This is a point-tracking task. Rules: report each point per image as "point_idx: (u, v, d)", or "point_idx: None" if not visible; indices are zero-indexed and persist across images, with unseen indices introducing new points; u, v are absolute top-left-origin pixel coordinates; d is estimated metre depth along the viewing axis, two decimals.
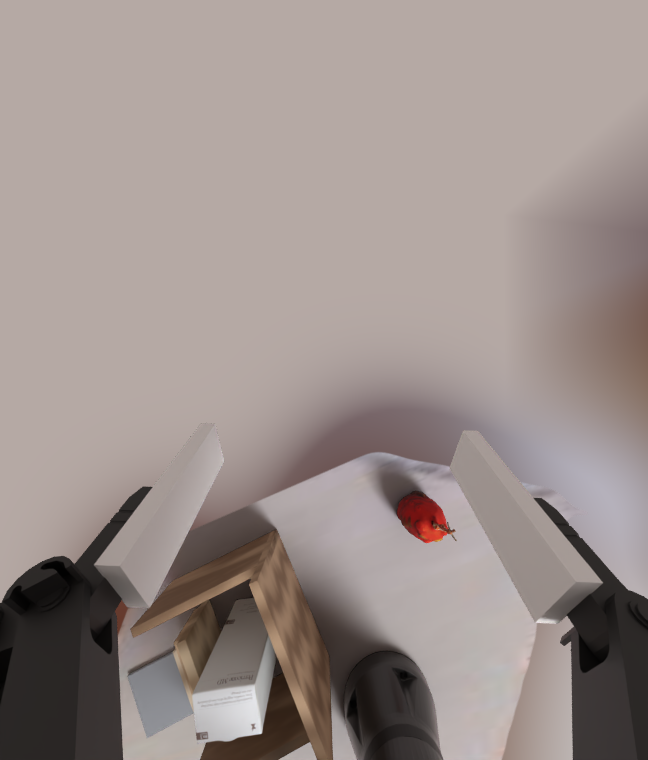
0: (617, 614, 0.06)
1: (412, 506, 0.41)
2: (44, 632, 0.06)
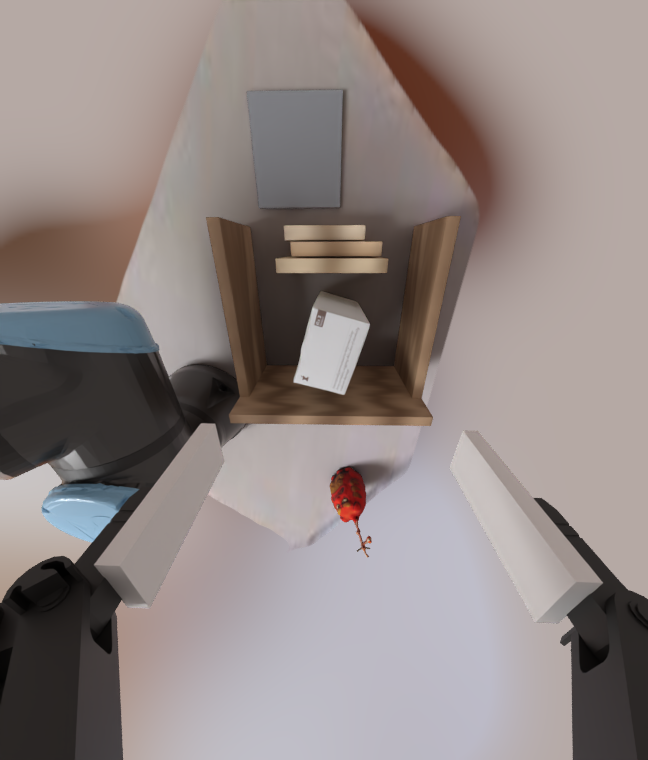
0: (617, 614, 0.06)
1: (365, 497, 0.47)
2: (44, 632, 0.06)
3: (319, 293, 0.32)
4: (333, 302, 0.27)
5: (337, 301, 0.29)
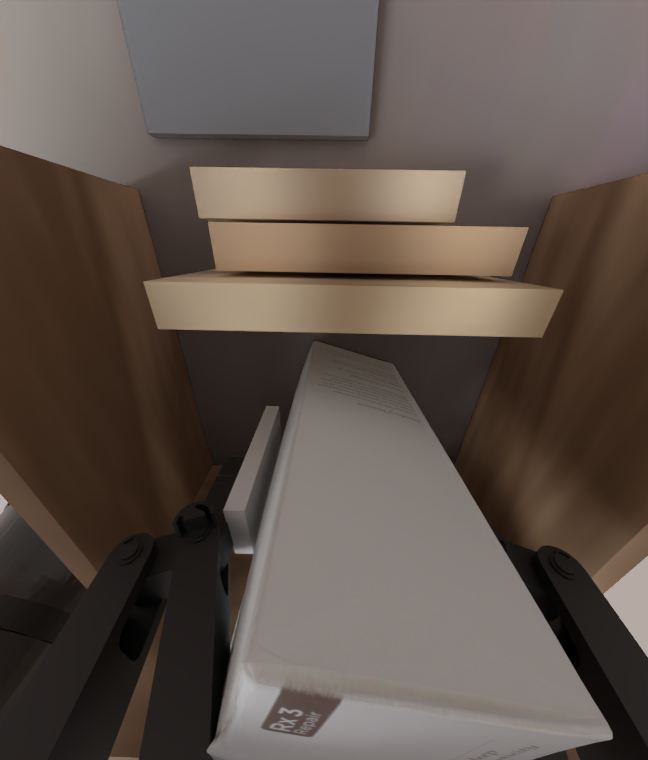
0: None
1: None
2: (193, 559, 0.07)
3: (310, 359, 0.13)
4: (352, 425, 0.08)
5: (360, 400, 0.10)
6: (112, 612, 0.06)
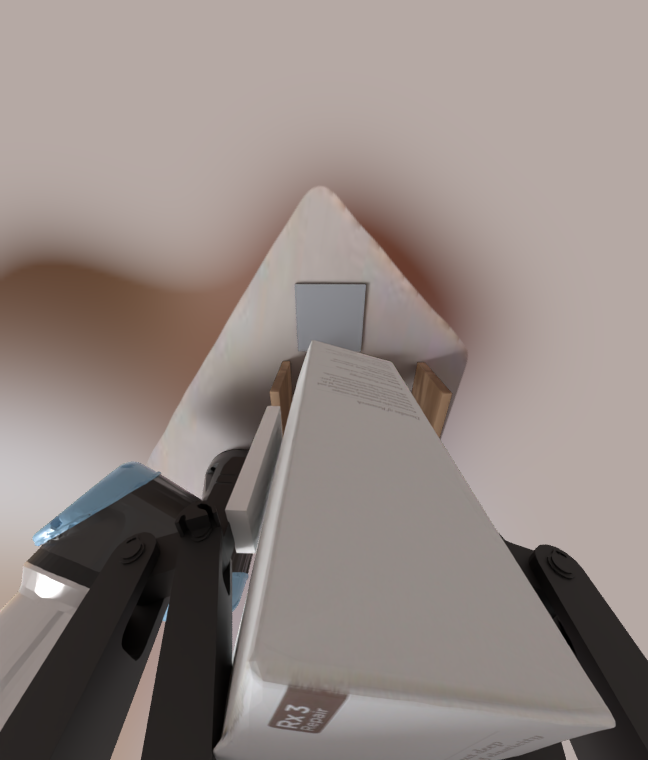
0: None
1: None
2: (195, 559, 0.07)
3: (309, 358, 0.13)
4: (352, 423, 0.08)
5: (359, 399, 0.10)
6: (114, 611, 0.06)
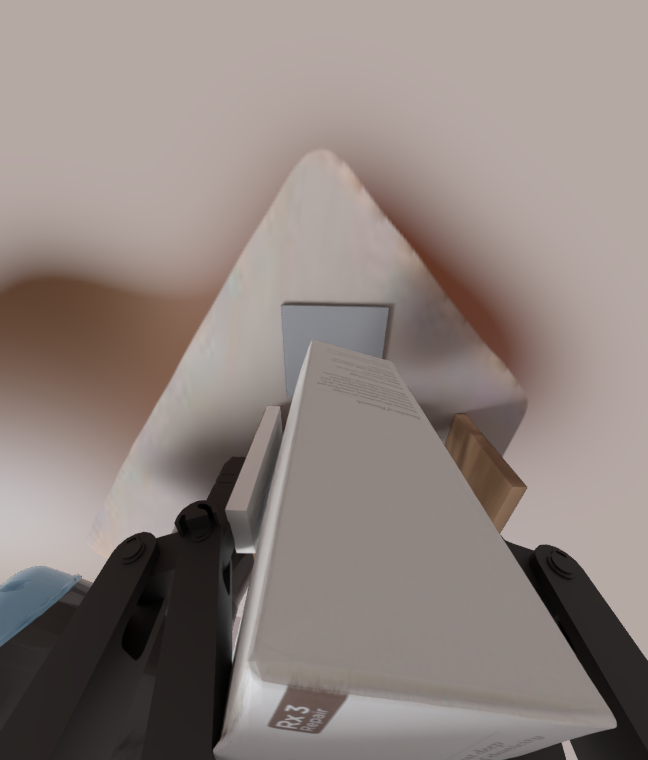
0: None
1: None
2: (195, 559, 0.07)
3: (309, 357, 0.13)
4: (352, 423, 0.08)
5: (359, 398, 0.10)
6: (115, 611, 0.06)
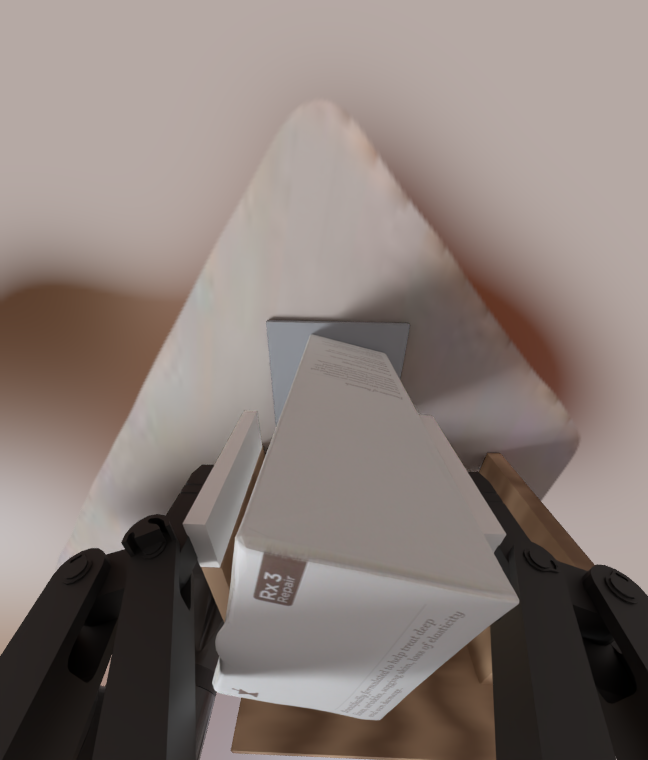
0: (516, 563, 0.07)
1: None
2: (147, 577, 0.07)
3: (306, 348, 0.14)
4: (338, 399, 0.10)
5: (348, 381, 0.11)
6: (58, 634, 0.06)
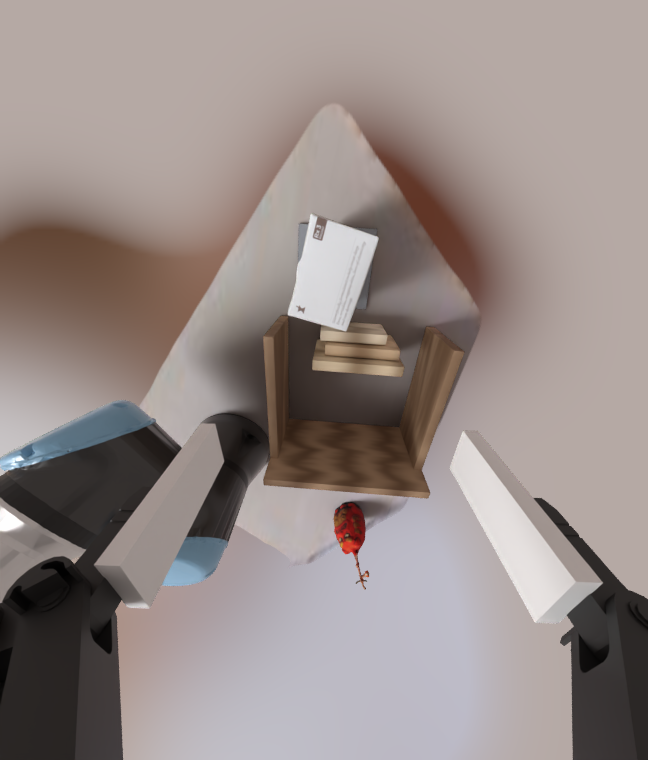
0: (617, 614, 0.06)
1: (364, 532, 0.53)
2: (44, 632, 0.06)
3: None
4: None
5: None
6: None
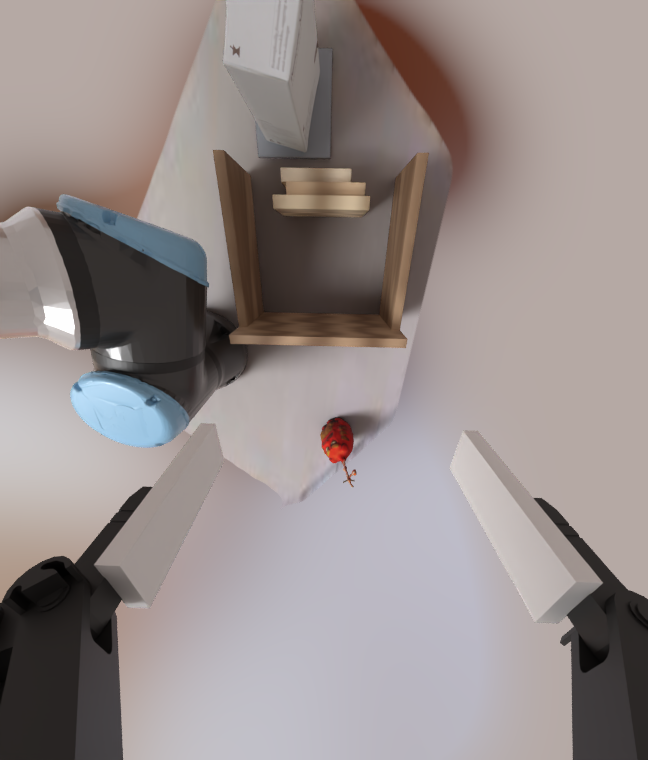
0: (617, 614, 0.06)
1: (352, 442, 0.51)
2: (44, 632, 0.06)
3: None
4: None
5: None
6: None
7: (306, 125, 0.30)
